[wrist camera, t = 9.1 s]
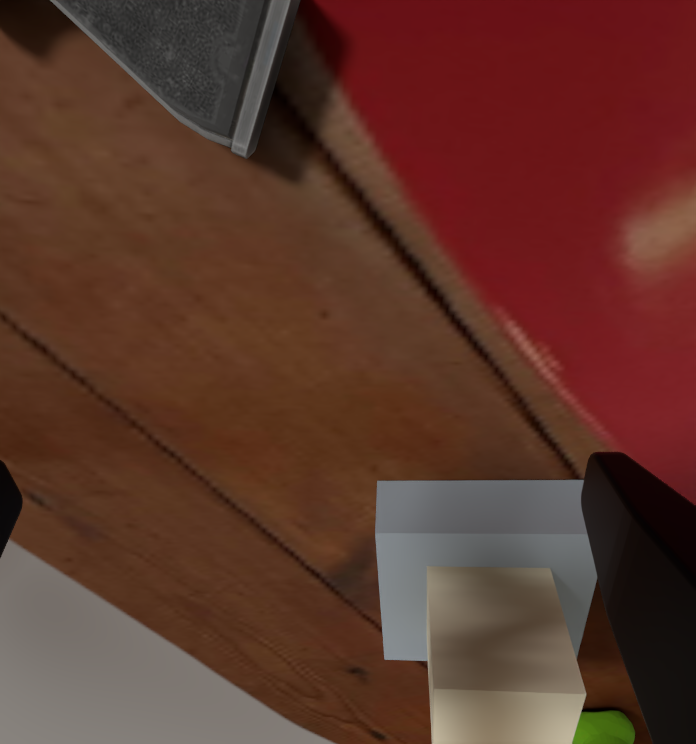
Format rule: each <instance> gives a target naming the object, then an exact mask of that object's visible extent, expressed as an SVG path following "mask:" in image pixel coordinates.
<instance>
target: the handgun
mask: <svg viewBox="0 0 696 744" xmlns="http://www.w3.org/2000/svg"><path fill="white" fill-rule="evenodd" d="M50 1H51V2H52V3H53V4H54V5H56V6H57V7H58V8H59V9H60V10H61V11H62V12H63V13H64V14H65V15H66V16H67V17H68V18H69V19H71V20H72V21H73V22H74V23H75V24H76V25H77V26H78V27H79V28H80V29H81V30H82V31H83V32H84V33H86V34H87V35H88V36H89V37H90V38H91V39H92V40H93V41H94V42H95V43H96V44H97V45H98V46H99V47H101V48H102V49H103V50H104V51H105V52H106V53H107V54H108V55H109V56H110V57H111V58H112V59H113V60H114V61H115V62H117V63H118V64H119V65H120V66H121V67H122V68H123V69H124V70H125V71H126V72H127V73H128V74H129V75H130V76H132V77H133V78H134V79H135V80H136V81H137V82H138V83H139V84H140V85H141V86H142V87H143V88H144V89H145V90H147V91H148V92H149V93H150V94H151V95H152V96H153V97H154V98H155V99H156V100H157V101H158V102H159V103H160V104H162V105H163V106H164V107H165V108H166V109H167V110H168V111H169V112H170V113H171V114H172V115H173V116H174V117H175V118H176V119H178V120H179V121H180V122H181V123H183V124H184V125H186V126H188V127H189V128H191V129H192V130H194V131H196V132H197V133H199V134H200V135H202V136H204V137H205V138H207V139H208V140H211V141H214V142H216V143H219V144H222V145H224V146H227V147H230V148H231V151H232V153H234V154H237V155H239V156H241V157H243V158H246V159H247V158H248V157H249V156H250V155H252V154H253V153H254V152H255V150H256V147H257V144H258V140H259V137H260V134H261V130H262V127H263V124H264V120H265V117H266V114H267V110H268V107H269V104H270V100H271V97H272V94H273V90H274V87H275V84H276V80H277V77H278V74H279V70H280V67H281V63H282V60H283V57H284V53H285V50H286V47H287V43H288V40H289V37H290V33H291V30H292V27H293V23H294V20H295V17H296V13H297V10H298V7H299V3H300V0H50Z"/></svg>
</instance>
